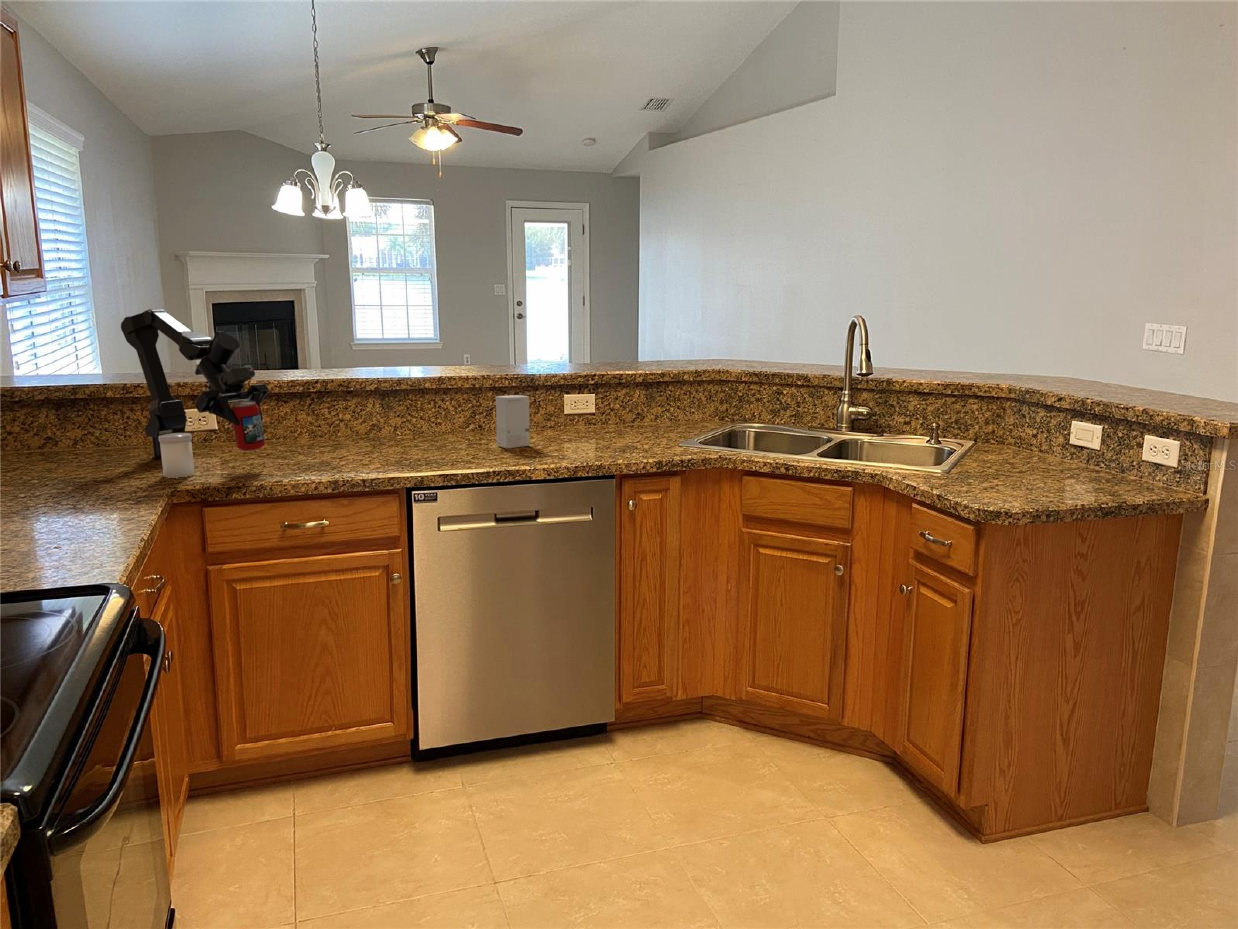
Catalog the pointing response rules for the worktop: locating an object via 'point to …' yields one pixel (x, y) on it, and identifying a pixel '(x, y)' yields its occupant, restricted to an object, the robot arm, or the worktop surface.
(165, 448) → the sugar jar
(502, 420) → the skincare box
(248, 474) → the worktop surface
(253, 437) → the beverage can
